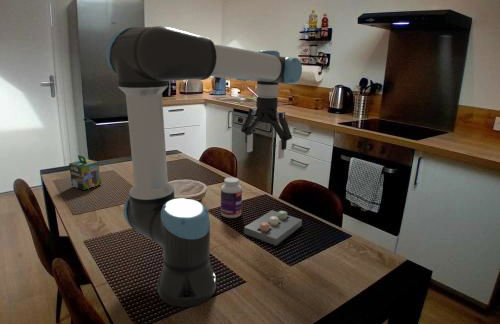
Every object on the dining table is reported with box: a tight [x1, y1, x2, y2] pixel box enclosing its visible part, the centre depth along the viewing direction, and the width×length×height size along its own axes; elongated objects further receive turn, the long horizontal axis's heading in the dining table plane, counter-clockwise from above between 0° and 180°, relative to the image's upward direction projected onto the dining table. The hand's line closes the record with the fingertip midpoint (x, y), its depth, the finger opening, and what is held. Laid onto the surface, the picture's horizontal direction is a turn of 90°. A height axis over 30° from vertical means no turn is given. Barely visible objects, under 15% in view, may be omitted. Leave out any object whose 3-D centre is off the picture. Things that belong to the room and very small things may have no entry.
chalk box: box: [68, 154, 102, 191], centre depth 157 cm, size 9×9×15 cm
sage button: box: [277, 210, 288, 221], centre depth 128 cm, size 3×3×3 cm
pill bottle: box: [220, 177, 243, 219], centre depth 133 cm, size 8×8×14 cm
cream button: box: [269, 216, 279, 227], centre depth 123 cm, size 3×3×3 cm
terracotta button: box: [260, 222, 270, 233], centre depth 119 cm, size 3×3×3 cm
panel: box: [243, 209, 303, 246], centre depth 124 cm, size 18×13×2 cm
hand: (264, 154), depth 128 cm, fingers open, 13 cm apart
